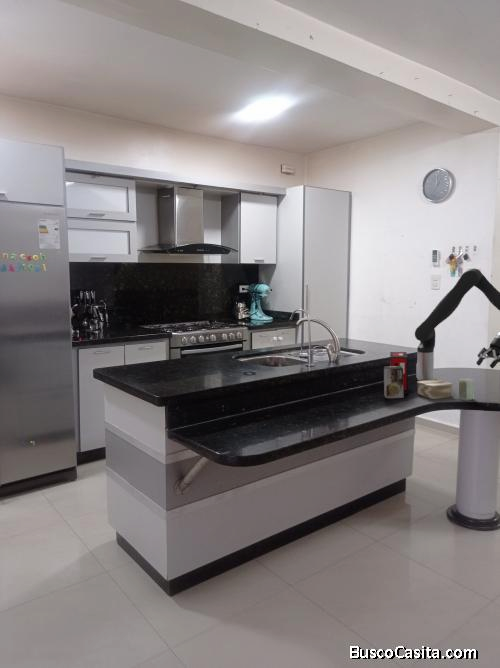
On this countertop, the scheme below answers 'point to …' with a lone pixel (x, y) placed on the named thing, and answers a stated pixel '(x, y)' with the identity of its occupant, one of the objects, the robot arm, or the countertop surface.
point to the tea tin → (466, 389)
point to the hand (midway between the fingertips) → (484, 365)
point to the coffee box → (393, 382)
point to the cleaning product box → (402, 361)
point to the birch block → (434, 388)
